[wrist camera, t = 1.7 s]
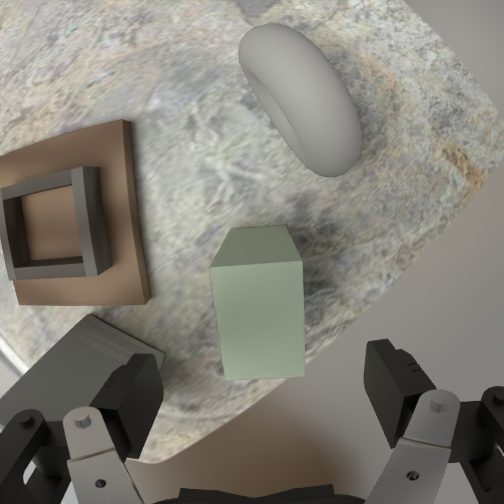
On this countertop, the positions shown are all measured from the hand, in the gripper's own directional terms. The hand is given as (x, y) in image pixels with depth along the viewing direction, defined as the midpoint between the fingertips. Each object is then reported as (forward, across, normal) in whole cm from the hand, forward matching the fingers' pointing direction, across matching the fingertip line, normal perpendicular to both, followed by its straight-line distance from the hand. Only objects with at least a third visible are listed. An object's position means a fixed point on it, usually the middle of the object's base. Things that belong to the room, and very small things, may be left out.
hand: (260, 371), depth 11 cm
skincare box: (+14, +13, +7) cm, 20 cm away
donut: (+13, -3, -11) cm, 18 cm away
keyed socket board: (+13, +16, -5) cm, 21 cm away
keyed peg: (+13, 0, 0) cm, 13 cm away
